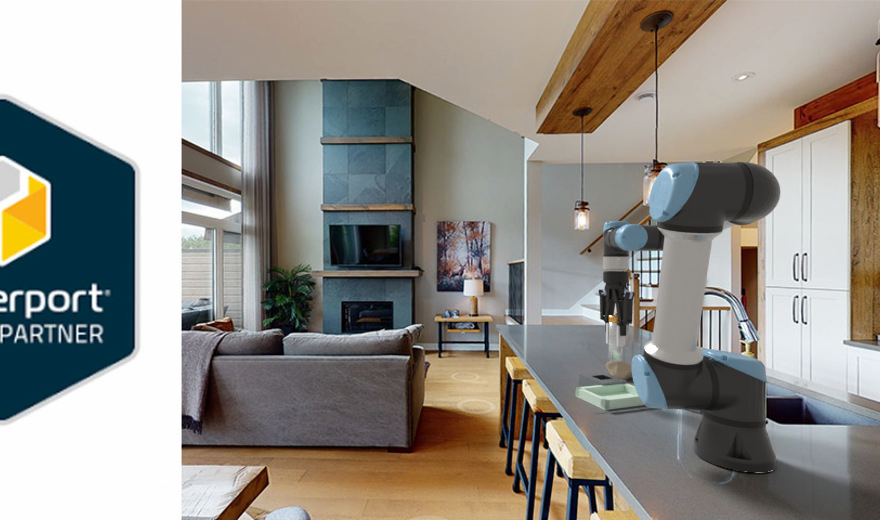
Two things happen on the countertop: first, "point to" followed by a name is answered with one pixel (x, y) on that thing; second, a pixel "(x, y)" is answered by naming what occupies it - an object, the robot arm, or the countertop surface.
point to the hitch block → (599, 379)
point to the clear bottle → (614, 340)
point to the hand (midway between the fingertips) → (615, 344)
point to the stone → (619, 369)
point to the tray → (610, 396)
